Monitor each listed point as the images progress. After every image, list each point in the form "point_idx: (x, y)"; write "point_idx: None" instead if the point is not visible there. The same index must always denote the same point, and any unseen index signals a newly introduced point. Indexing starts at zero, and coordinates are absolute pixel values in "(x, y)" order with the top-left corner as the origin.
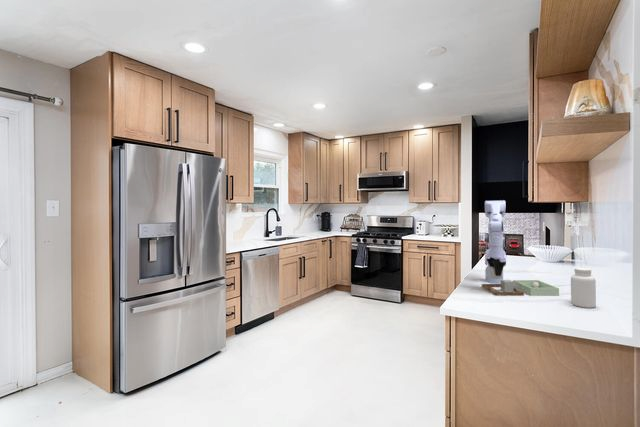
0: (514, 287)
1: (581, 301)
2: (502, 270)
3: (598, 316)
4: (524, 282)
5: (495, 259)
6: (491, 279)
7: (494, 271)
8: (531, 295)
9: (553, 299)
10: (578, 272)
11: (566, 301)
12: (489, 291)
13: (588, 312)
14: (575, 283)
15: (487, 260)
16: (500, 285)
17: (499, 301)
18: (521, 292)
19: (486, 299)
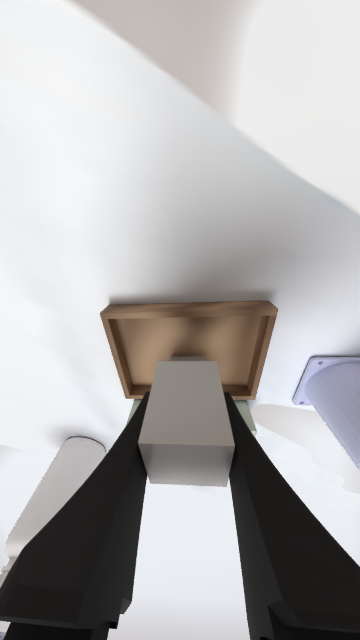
0: (236, 404)
1: (56, 455)
2: (352, 460)
3: (8, 434)
4: None
5: (258, 625)
6: (340, 379)
7: (148, 414)
8: (133, 405)
9: (120, 428)
10: (2, 578)
11: (109, 438)
12: (176, 305)
13: (30, 433)
14: (28, 513)
15: (324, 569)
16: (252, 376)
17: (34, 290)
18: (124, 393)
19: (44, 242)
